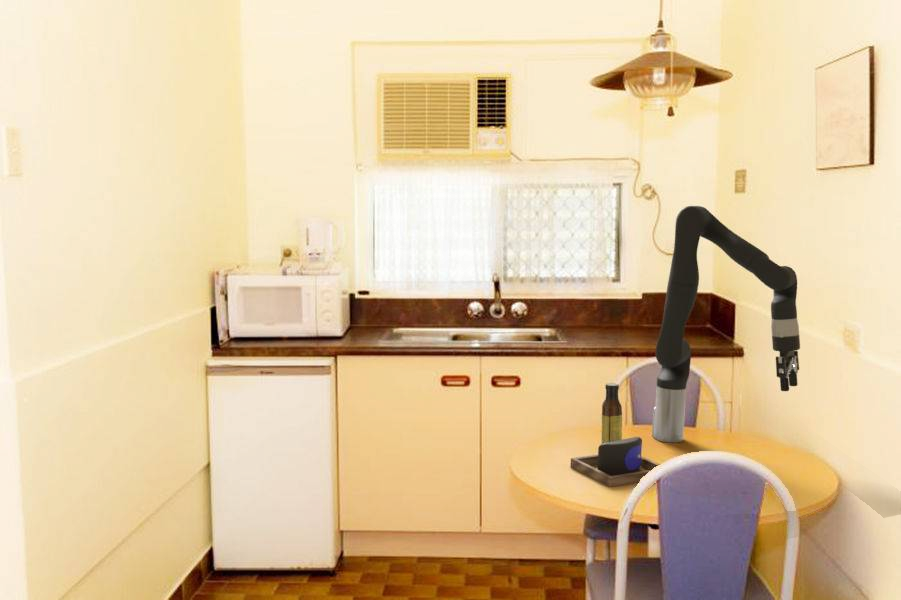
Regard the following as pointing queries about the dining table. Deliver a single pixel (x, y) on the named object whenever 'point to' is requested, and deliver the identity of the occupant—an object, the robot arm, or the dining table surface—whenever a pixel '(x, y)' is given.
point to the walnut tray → (584, 467)
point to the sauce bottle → (611, 415)
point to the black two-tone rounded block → (620, 456)
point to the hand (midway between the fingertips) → (789, 388)
